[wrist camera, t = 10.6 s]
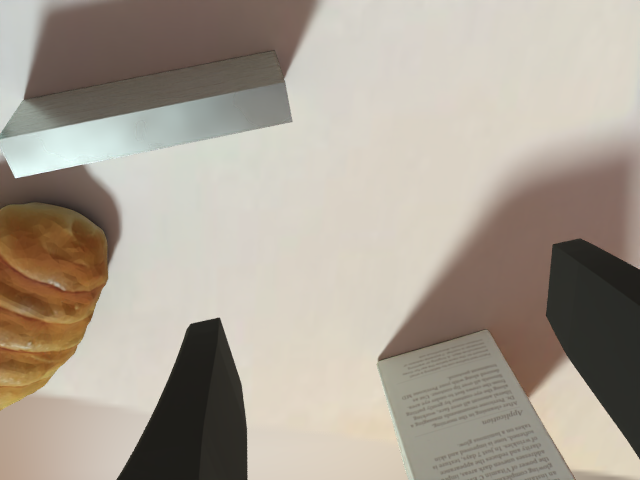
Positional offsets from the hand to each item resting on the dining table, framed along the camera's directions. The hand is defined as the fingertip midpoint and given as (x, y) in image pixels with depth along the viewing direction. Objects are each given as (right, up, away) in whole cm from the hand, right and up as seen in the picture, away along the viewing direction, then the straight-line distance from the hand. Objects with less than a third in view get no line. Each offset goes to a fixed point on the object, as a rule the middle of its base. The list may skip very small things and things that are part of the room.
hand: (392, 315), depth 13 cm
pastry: (-14, 0, +10) cm, 17 cm away
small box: (+4, -6, +17) cm, 19 cm away
